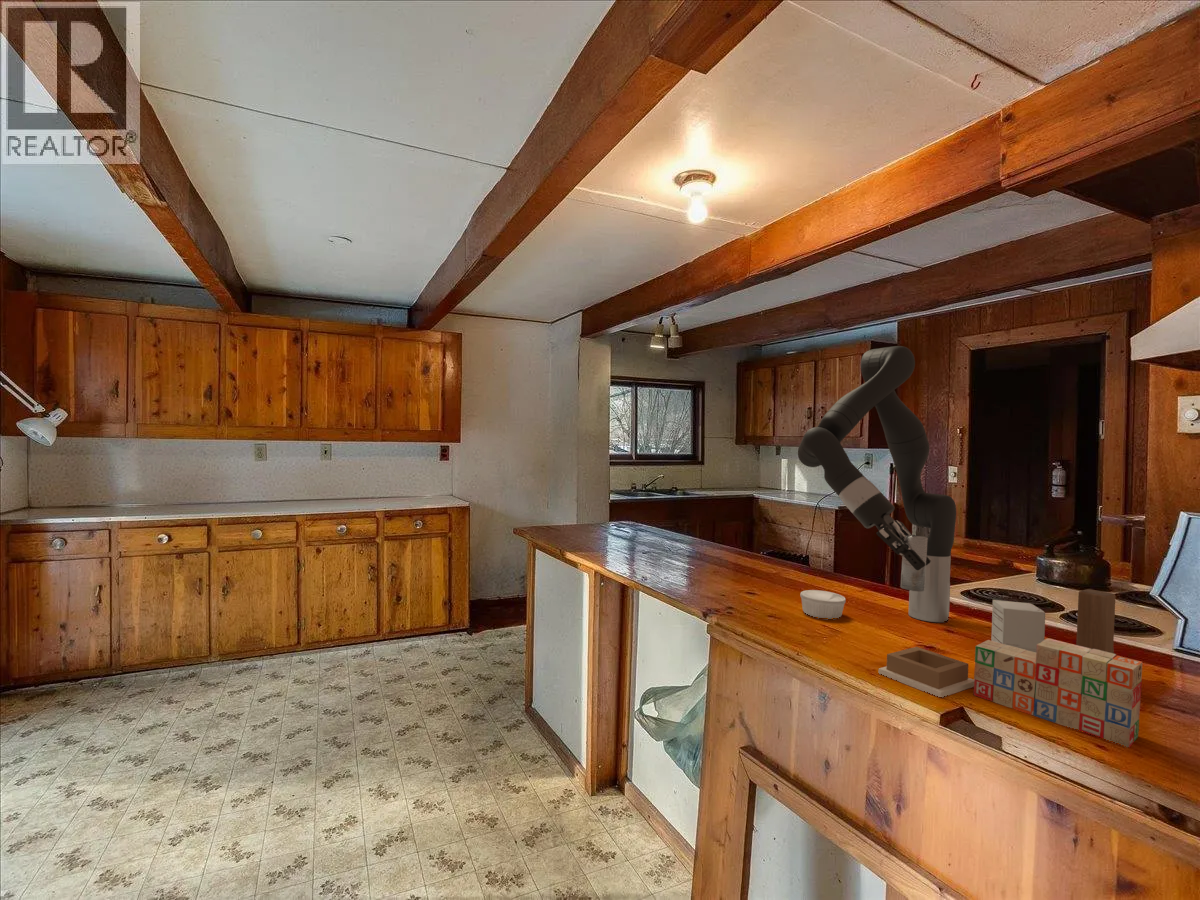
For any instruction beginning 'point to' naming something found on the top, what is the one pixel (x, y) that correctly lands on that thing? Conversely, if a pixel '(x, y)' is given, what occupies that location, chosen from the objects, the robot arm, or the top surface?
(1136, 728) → the stack of blocks
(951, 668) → the cradle
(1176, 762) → the top surface
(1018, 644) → the supplement box
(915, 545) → the axle
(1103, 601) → the wooden block
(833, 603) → the ramekin
